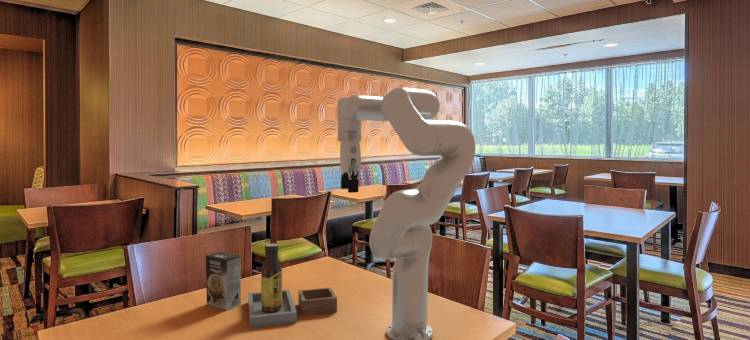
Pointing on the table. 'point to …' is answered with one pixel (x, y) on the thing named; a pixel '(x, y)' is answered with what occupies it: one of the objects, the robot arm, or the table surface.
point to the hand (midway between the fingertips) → (349, 190)
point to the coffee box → (223, 280)
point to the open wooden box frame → (317, 301)
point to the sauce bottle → (271, 280)
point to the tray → (271, 318)
